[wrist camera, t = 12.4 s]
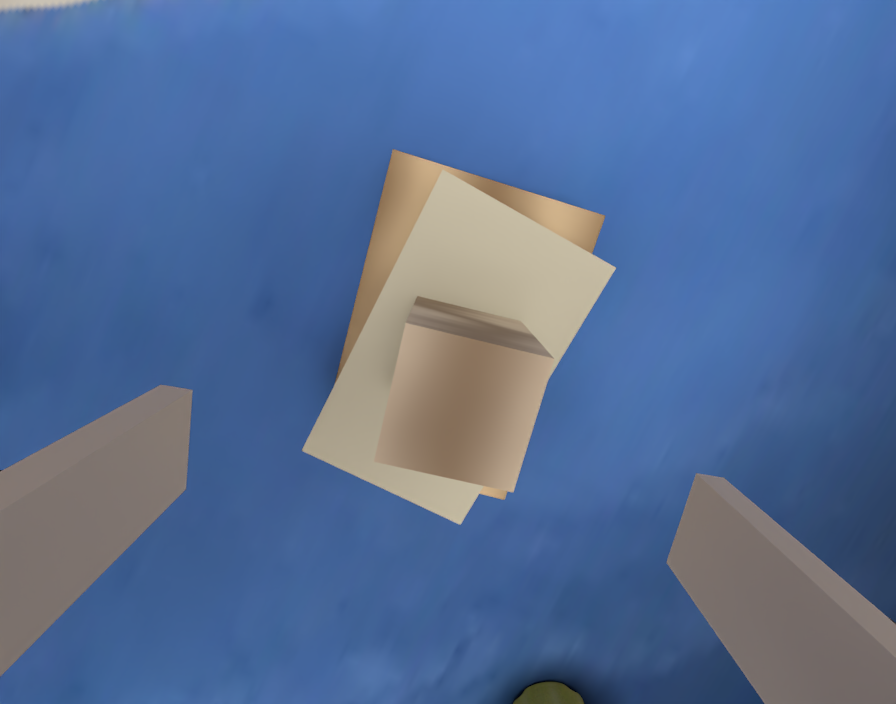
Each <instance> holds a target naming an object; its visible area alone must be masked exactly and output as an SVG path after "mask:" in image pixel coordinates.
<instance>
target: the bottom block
mask: <svg viewBox="0 0 896 704" xmlns="http://www.w3.org/2000/svg"><path fill="white" fill-rule="evenodd" d="M442 170H445V171H447V172H448V173H450V174H452V175H454V176H455V177H457V178H459V179H461V180H462V181H464V182H466V183H468V184H469V185H471V186H473V187H475V188H477V189H478V190H480V191H482V192H484V193H485V194H487V195H489V196H491V197H492V198H494V199H496V200H498V201H499V202H501V203H503V204H505V205H506V206H508V207H510V208H512V209H513V210H515V211H517V212H519V213H521V214H522V215H524V216H526V217H528V218H529V219H531V220H533V221H535V222H536V223H538V224H540V225H542V226H543V227H545V228H547V229H549V230H550V231H552V232H554V233H556V234H557V235H559V236H561V237H563V238H565V239H566V240H568V241H570V242H572V243H573V244H575V245H577V246H579V247H580V248H582V249H584V250H586V251H587V252H589V253H591V254H592V252H593V249H594V247H595V244H596V241H597V238H598V235H599V232H600V230H601V227H602V224H603V221H604V218H605V215H601V214H598V213H595V212H592V211H589V210H585V209H582V208H579V207H576V206H573V205H569V204H566V203H563V202H560V201H557V200H553V199H550V198H547V197H544V196H541V195H537V194H534V193H531V192H528V191H525V190H522V189H518V188H515V187H512V186H509V185H506V184H502V183H499V182H496V181H493V180H490V179H486V178H483V177H480V176H477V175H474V174H470V173H467V172H464V171H461V170H458V169H454V168H451V167H448V166H445V165H442V164H438V163H435V162H432V161H429V160H426V159H423V158H419V157H416V156H413V155H410V154H407V153H403V152H400V151H397V150H394V149H393V151H392V155H391V159H390V163H389V167H388V171H387V175H386V179H385V183H384V187H383V191H382V196H381V200H380V204H379V208H378V212H377V216H376V220H375V224H374V228H373V232H372V236H371V240H370V244H369V248H368V252H367V256H366V260H365V264H364V268H363V272H362V276H361V280H360V284H359V288H358V292H357V296H356V300H355V304H354V308H353V312H352V316H351V320H350V324H349V328H348V332H347V336H346V340H345V344H344V349H343V353H342V357H341V361H340V365H339V369H338V373H337V377H336V381H337V379H338V377H339V375H340V373H341V371H342V369H343V367H344V365H345V363H346V361H347V359H348V357H349V355H350V353H351V351H352V349H353V347H354V345H355V343H356V341H357V339H358V337H359V335H360V333H361V331H362V329H363V327H364V325H365V323H366V321H367V319H368V317H369V315H370V313H371V311H372V309H373V307H374V305H375V303H376V301H377V299H378V297H379V295H380V293H381V291H382V289H383V287H384V285H385V283H386V281H387V279H388V278H389V276H390V274H391V272H392V270H393V268H394V266H395V264H396V262H397V260H398V258H399V256H400V254H401V252H402V250H403V248H404V246H405V244H406V242H407V240H408V238H409V236H410V234H411V232H412V230H413V228H414V226H415V224H416V222H417V220H418V218H419V216H420V214H421V212H422V210H423V208H424V206H425V204H426V202H427V200H428V198H429V196H430V194H431V192H432V190H433V188H434V186H435V184H436V182H437V180H438V178H439V176H440V174H441V172H442ZM336 381H335V383H336ZM480 494H483V495H487V496H491V497H495V498H499V499H503V500H504V499H505V497H506V494H507V491H504V490H500V489H495V488H491V487H486V486H484V487H483V488H482V490H481V491H480Z"/></svg>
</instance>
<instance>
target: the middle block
mask: <svg viewBox="0 0 896 704" xmlns="http://www.w3.org/2000/svg"><path fill="white" fill-rule="evenodd" d="M615 269H616V267H614V266H612V265H610V264H609V263H607V262H605V261H603V260H602V259H600V258H598V257H596V256H594V255H593V254H591V253H589V252H587V251H586V250H584V249H582V248H580V247H579V246H577V245H575V244H573V243H572V242H570V241H568V240H566V239H565V238H563V237H561V236H559V235H557V234H556V233H554V232H552V231H550V230H549V229H547V228H545V227H543V226H542V225H540V224H538V223H536V222H535V221H533V220H531V219H529V218H528V217H526V216H524V215H522V214H521V213H519V212H517V211H515V210H513V209H512V208H510V207H508V206H506V205H505V204H503V203H501V202H499V201H498V200H496V199H494V198H492V197H491V196H489V195H487V194H485V193H484V192H482V191H480V190H478V189H477V188H475V187H473V186H471V185H469V184H468V183H466V182H464V181H462V180H461V179H459V178H457V177H455V176H454V175H452V174H450V173H448V172H447V171H445V170H442V172H441V174H440V176H439V178H438V180H437V182H436V184H435V186H434V188H433V190H432V192H431V194H430V196H429V198H428V200H427V202H426V204H425V206H424V208H423V210H422V212H421V214H420V216H419V218H418V220H417V222H416V224H415V226H414V228H413V230H412V232H411V234H410V236H409V238H408V240H407V242H406V244H405V246H404V248H403V250H402V252H401V254H400V256H399V258H398V260H397V262H396V264H395V266H394V268H393V270H392V272H391V274H390V276H389V278H388V279H387V281H386V283H385V285H384V287H383V289H382V291H381V293H380V295H379V297H378V299H377V301H376V303H375V305H374V307H373V309H372V311H371V313H370V315H369V317H368V319H367V321H366V323H365V325H364V327H363V329H362V331H361V333H360V335H359V337H358V339H357V341H356V343H355V345H354V347H353V349H352V351H351V353H350V355H349V357H348V359H347V361H346V363H345V365H344V367H343V369H342V371H341V373H340V375H339V377H338V379H337V381H336V383H335V385H334V387H333V389H332V391H331V393H330V395H329V397H328V399H327V401H326V403H325V405H324V407H323V409H322V411H321V413H320V415H319V417H318V419H317V421H316V423H315V425H314V427H313V429H312V431H311V433H310V435H309V437H308V439H307V441H306V443H305V445H304V447H303V449H302V451H303V452H305V453H308V454H310V455H312V456H314V457H316V458H318V459H320V460H323V461H325V462H327V463H329V464H331V465H333V466H335V467H338V468H340V469H342V470H344V471H346V472H348V473H350V474H353V475H355V476H357V477H359V478H361V479H363V480H365V481H368V482H370V483H372V484H374V485H376V486H378V487H380V488H383V489H385V490H387V491H389V492H391V493H393V494H395V495H398V496H400V497H402V498H404V499H406V500H408V501H410V502H412V503H415V504H417V505H419V506H421V507H423V508H425V509H427V510H430V511H432V512H434V513H436V514H438V515H440V516H442V517H445V518H447V519H449V520H451V521H453V522H455V523H457V524H461V523H462V521H463V520H464V518H465V516H466V515H467V513H468V511H469V510H470V508H471V506H472V505H473V503H474V501H475V500H476V498H477V496H478V495H479V493H480V491H481V490H482V488H483V487H484V486H482V485H477V484H472V483H468V482H463V481H459V480H454V479H450V478H445V477H441V476H436V475H432V474H427V473H423V472H418V471H414V470H409V469H404V468H400V467H395V466H391V465H386V464H382V463H377V462H374V459H375V454H376V450H377V446H378V441H379V437H380V433H381V428H382V424H383V419H384V415H385V411H386V406H387V402H388V398H389V393H390V389H391V385H392V380H393V376H394V371H395V367H396V363H397V358H398V354H399V350H400V345H401V341H402V337H403V332H404V328H405V324H406V321H407V319H408V316H409V314H410V312H411V309H412V307H413V305H414V303H415V300H416V298H417V296H420V297H424V298H428V299H432V300H436V301H440V302H444V303H448V304H452V305H457V306H461V307H465V308H469V309H473V310H477V311H481V312H485V313H489V314H493V315H497V316H502V317H506V318H510V319H514V320H518V321H521V322H522V323H523V324H524V325H525V326H526V327H527V328H528V329H529V331H530V332H531V333H532V334H533V335H534V336H535V337H536V338H537V340H538V341H539V342H540V343H541V344H542V345H543V346H544V347H545V349H546V350H547V351H548V352H549V353H550V354H551V355H552V356H553V358H554V362H553V365H552V369H551V372H550V375H549V378H550V376H551V374H552V373H553V371H554V369H555V368H556V366H557V365H558V363H559V361H560V360H561V358H562V356H563V355H564V353H565V351H566V350H567V348H568V346H569V345H570V343H571V341H572V340H573V338H574V336H575V335H576V333H577V332H578V330H579V328H580V327H581V325H582V323H583V322H584V320H585V318H586V317H587V315H588V313H589V312H590V310H591V308H592V307H593V305H594V303H595V302H596V300H597V299H598V297H599V295H600V294H601V292H602V290H603V289H604V287H605V285H606V284H607V282H608V280H609V279H610V277H611V275H612V274H613V272H614V271H615ZM549 378H548V379H549Z"/></svg>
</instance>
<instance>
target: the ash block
mask: <svg viewBox="0 0 896 704" xmlns="http://www.w3.org/2000/svg"><path fill="white" fill-rule="evenodd" d="M553 362H554V358H553V356H552V355H551V354H550V353H549V352H548V351H547V350H546V349H545V347H544V346H543V345H542V344H541V343H540V342H539V341H538V340H537V338H536V337H535V336H534V335H533V334H532V333H531V332H530V331H529V329H528V328H527V327H526V326H525V325H524V324H523V323H522V322H521V321H518V320H514V319H510V318H506V317H502V316H497V315H493V314H489V313H485V312H481V311H477V310H473V309H469V308H465V307H461V306H457V305H452V304H448V303H444V302H440V301H436V300H432V299H428V298H424V297H420V296H417V298H416V300H415V303H414V305H413V307H412V309H411V312H410V314H409V316H408V319H407V321H406V324H405V328H404V332H403V337H402V341H401V345H400V350H399V354H398V358H397V363H396V367H395V371H394V376H393V380H392V385H391V389H390V393H389V398H388V402H387V406H386V411H385V415H384V419H383V424H382V428H381V433H380V437H379V441H378V446H377V450H376V454H375V459H374V462H377V463H382V464H386V465H391V466H395V467H400V468H404V469H409V470H414V471H418V472H423V473H427V474H432V475H436V476H441V477H445V478H450V479H454V480H459V481H463V482H468V483H472V484H477V485H482V486H486V487H491V488H495V489H500V490H504V491H509V492H514V489H515V485H516V482H517V479H518V476H519V472H520V469H521V466H522V463H523V459H524V456H525V453H526V450H527V446H528V443H529V440H530V437H531V433H532V430H533V427H534V424H535V420H536V417H537V414H538V411H539V407H540V404H541V401H542V398H543V395H544V391H545V388H546V385H547V382H548V378H549V375H550V372H551V369H552V365H553Z"/></svg>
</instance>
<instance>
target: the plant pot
mask: <svg viewBox="0 0 896 704" xmlns="http://www.w3.org/2000/svg"><path fill="white" fill-rule="evenodd" d="M513 704H584V702H583V699H582V697H581V696H580V695H579V694H578V693H577V692H574V691H572V690H571V689H569V688H568V687H567V686H565V685H564V684H562V683H558V682H542V683H538V684H534V685H532V686H530V687H528V688H526V689H525V691H524V692H523V693H522V695H521V696H520V697H519V698H518V699H517V700H515V701H514V703H513Z"/></svg>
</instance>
